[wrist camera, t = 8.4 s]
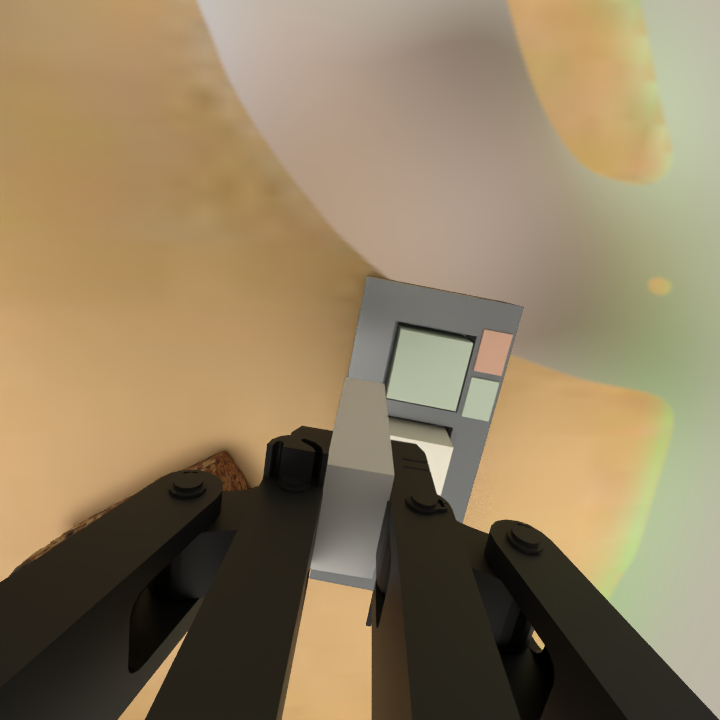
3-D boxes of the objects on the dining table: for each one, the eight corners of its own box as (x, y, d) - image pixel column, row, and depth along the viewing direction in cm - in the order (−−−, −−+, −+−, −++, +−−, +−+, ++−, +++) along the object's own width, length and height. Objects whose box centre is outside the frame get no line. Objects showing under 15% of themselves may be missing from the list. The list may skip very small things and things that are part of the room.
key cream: (380, 415, 30) (381, 433, 27) (444, 427, 30) (453, 447, 27) (368, 473, 31) (367, 498, 28) (430, 485, 31) (436, 511, 28)
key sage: (398, 322, 30) (401, 329, 27) (462, 334, 30) (473, 343, 27) (385, 383, 31) (386, 397, 28) (447, 395, 31) (455, 411, 28)
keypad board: (368, 275, 31) (366, 276, 27) (505, 302, 31) (525, 307, 27) (316, 545, 37) (309, 581, 33) (432, 568, 37) (440, 606, 33)
